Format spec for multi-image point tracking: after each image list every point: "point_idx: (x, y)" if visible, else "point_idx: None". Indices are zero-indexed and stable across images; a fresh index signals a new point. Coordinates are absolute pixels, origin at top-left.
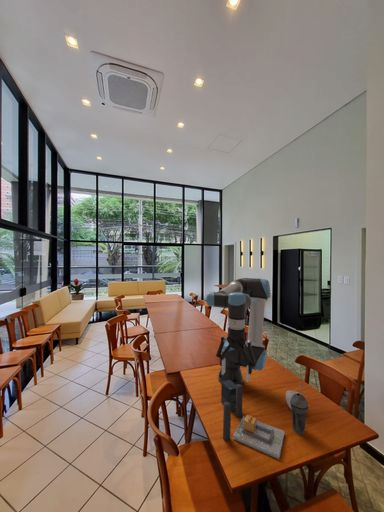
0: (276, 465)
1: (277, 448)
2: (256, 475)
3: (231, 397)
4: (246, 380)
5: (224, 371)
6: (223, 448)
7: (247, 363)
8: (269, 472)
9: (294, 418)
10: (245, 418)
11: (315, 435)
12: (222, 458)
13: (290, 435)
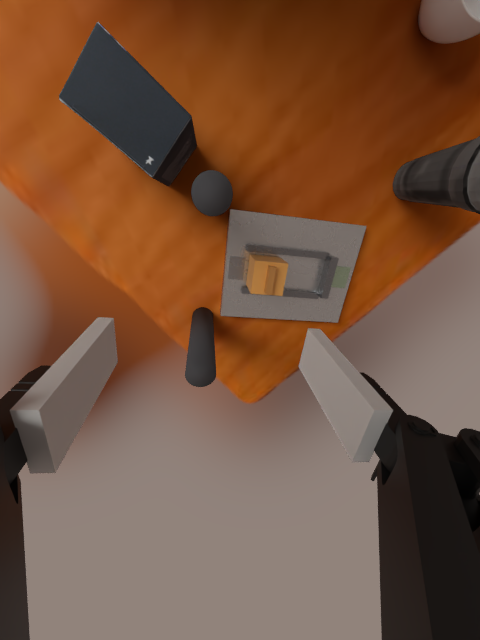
0: None
1: (336, 304)
2: (285, 372)
3: (166, 174)
4: (302, 372)
5: (110, 342)
6: None
7: (381, 492)
8: None
9: (428, 198)
10: (253, 282)
11: None
12: None
13: (377, 219)
